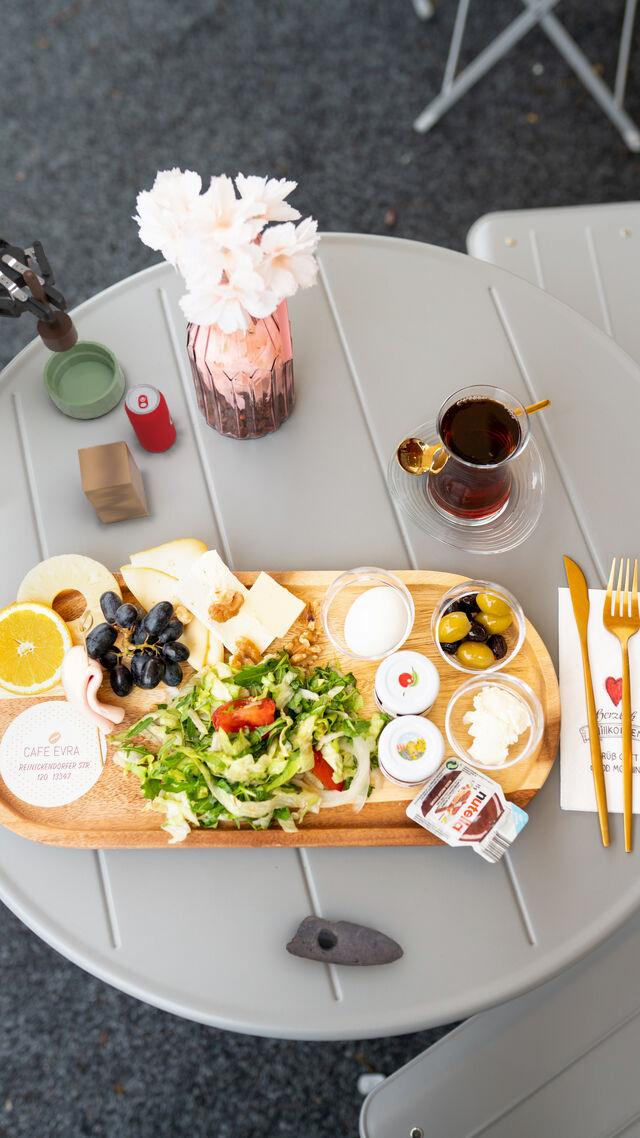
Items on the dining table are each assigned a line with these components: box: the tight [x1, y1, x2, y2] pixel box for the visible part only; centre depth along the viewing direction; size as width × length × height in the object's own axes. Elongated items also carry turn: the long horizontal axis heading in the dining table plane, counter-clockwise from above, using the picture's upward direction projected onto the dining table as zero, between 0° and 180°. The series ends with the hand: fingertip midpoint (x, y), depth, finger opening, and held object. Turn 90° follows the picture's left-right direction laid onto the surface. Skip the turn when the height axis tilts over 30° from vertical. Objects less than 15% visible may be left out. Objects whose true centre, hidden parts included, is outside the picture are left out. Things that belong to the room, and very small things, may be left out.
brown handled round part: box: [23, 269, 79, 353], centre depth 112 cm, size 5×5×14 cm
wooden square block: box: [77, 440, 149, 525], centre depth 125 cm, size 7×7×12 cm
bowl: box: [42, 340, 126, 420], centre depth 135 cm, size 12×12×5 cm
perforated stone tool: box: [285, 915, 405, 967], centre depth 105 cm, size 15×5×7 cm, turn 79°
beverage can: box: [124, 383, 177, 453], centre depth 129 cm, size 6×6×12 cm
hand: (57, 311), depth 110 cm, fingers closed on brown handled round part
